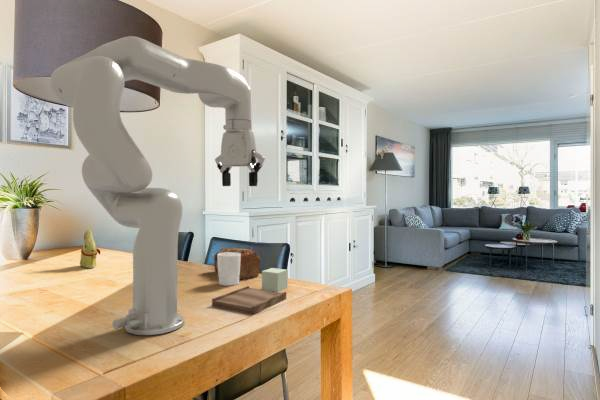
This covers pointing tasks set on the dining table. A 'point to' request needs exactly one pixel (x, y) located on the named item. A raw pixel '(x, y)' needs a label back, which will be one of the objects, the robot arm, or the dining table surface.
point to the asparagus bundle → (88, 251)
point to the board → (248, 300)
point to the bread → (243, 262)
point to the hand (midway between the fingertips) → (239, 186)
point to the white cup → (229, 268)
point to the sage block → (274, 279)
